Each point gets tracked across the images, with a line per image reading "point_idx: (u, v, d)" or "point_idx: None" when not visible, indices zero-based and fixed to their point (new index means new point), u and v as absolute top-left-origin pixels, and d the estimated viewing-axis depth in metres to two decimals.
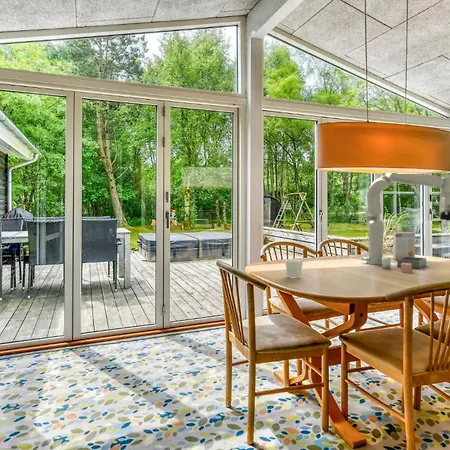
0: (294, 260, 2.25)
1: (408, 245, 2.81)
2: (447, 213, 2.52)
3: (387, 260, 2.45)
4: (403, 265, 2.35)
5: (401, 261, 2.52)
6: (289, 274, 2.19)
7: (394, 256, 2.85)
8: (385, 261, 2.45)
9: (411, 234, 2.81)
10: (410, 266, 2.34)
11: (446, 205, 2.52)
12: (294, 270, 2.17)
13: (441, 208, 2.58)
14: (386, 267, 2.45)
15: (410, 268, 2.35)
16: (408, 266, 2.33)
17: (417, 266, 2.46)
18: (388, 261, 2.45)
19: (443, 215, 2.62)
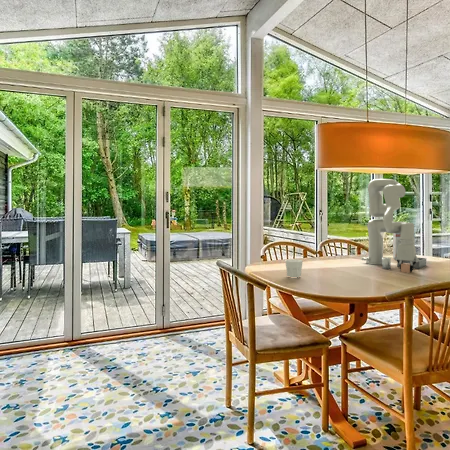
0: (294, 260, 2.25)
1: None
2: None
3: (387, 260, 2.45)
4: (403, 265, 2.35)
5: None
6: (289, 274, 2.19)
7: (394, 256, 2.85)
8: (385, 261, 2.45)
9: None
10: None
11: (414, 254, 2.32)
12: (294, 270, 2.17)
13: (404, 257, 2.34)
14: (386, 267, 2.45)
15: None
16: (408, 266, 2.33)
17: (417, 266, 2.46)
18: (388, 261, 2.45)
19: None
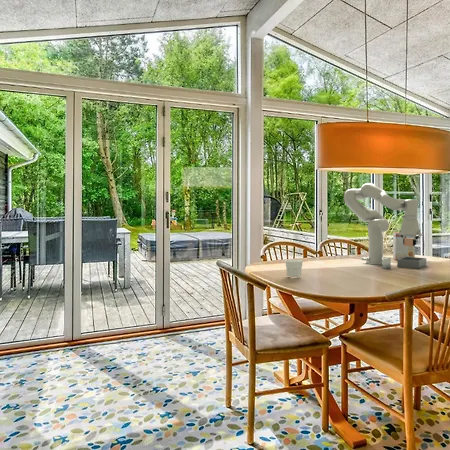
0: (294, 260, 2.25)
1: None
2: (415, 239, 2.46)
3: (387, 260, 2.45)
4: (406, 239, 2.49)
5: (401, 261, 2.52)
6: (289, 274, 2.19)
7: (394, 256, 2.85)
8: (385, 261, 2.45)
9: None
10: None
11: (417, 229, 2.45)
12: (294, 270, 2.17)
13: (408, 232, 2.48)
14: (386, 267, 2.45)
15: None
16: (411, 240, 2.47)
17: (417, 266, 2.46)
18: (388, 261, 2.45)
19: None
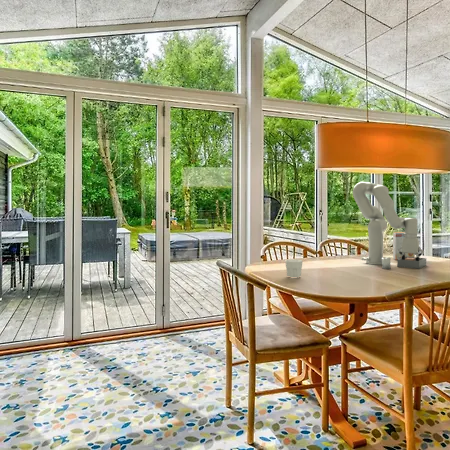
0: (294, 260, 2.25)
1: None
2: (418, 256, 2.49)
3: (386, 260, 2.45)
4: (407, 259, 2.52)
5: (401, 261, 2.52)
6: (289, 274, 2.19)
7: (394, 256, 2.85)
8: (385, 261, 2.45)
9: None
10: (414, 260, 2.51)
11: (418, 247, 2.48)
12: (294, 270, 2.17)
13: (409, 250, 2.51)
14: (386, 267, 2.45)
15: None
16: (412, 260, 2.50)
17: (417, 266, 2.46)
18: (387, 261, 2.45)
19: (404, 257, 2.56)
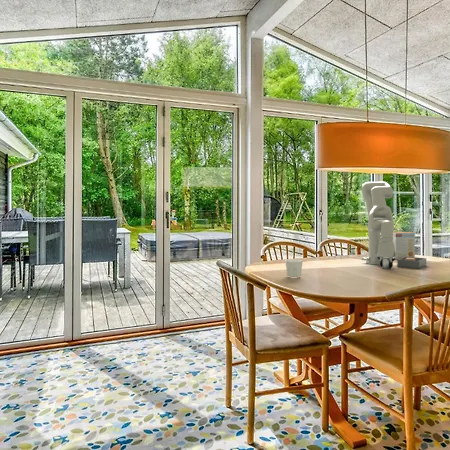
0: (294, 260, 2.25)
1: (407, 245, 2.81)
2: (392, 261, 2.44)
3: (386, 260, 2.45)
4: (407, 259, 2.52)
5: (401, 261, 2.52)
6: (289, 274, 2.19)
7: None
8: (384, 261, 2.46)
9: (411, 234, 2.81)
10: (414, 260, 2.51)
11: (393, 251, 2.42)
12: (294, 270, 2.17)
13: (384, 254, 2.45)
14: (385, 267, 2.45)
15: None
16: (412, 260, 2.50)
17: (417, 266, 2.46)
18: (387, 261, 2.45)
19: None
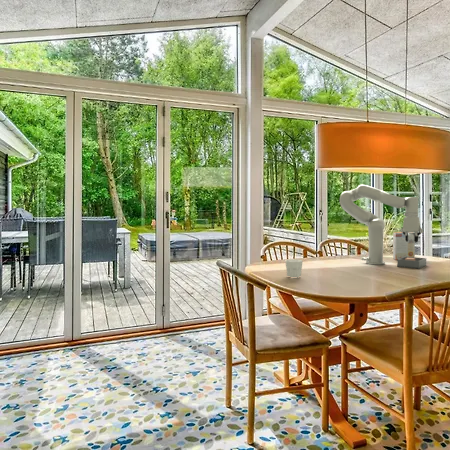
0: (294, 260, 2.25)
1: (408, 245, 2.81)
2: (417, 235, 2.53)
3: (411, 234, 2.54)
4: (407, 259, 2.52)
5: (401, 261, 2.52)
6: (289, 274, 2.19)
7: (394, 256, 2.85)
8: (409, 236, 2.55)
9: None
10: (414, 260, 2.51)
11: (419, 225, 2.51)
12: (294, 270, 2.17)
13: (410, 229, 2.54)
14: (410, 241, 2.54)
15: None
16: (412, 260, 2.50)
17: (417, 266, 2.46)
18: (412, 236, 2.54)
19: (407, 237, 2.58)
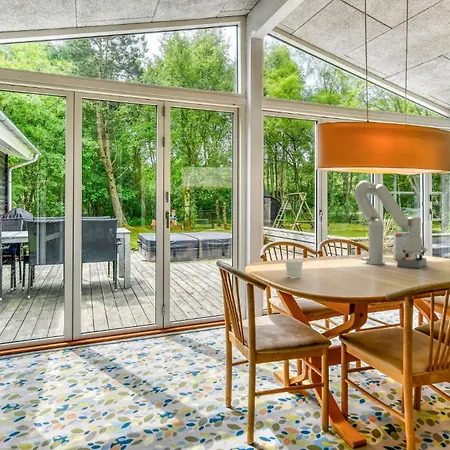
0: (294, 260, 2.25)
1: None
2: (422, 254, 2.54)
3: (413, 256, 2.57)
4: (407, 259, 2.52)
5: (401, 261, 2.52)
6: (289, 274, 2.19)
7: (394, 256, 2.85)
8: (411, 257, 2.57)
9: None
10: (414, 260, 2.51)
11: (421, 245, 2.54)
12: (294, 270, 2.17)
13: (412, 248, 2.56)
14: None
15: None
16: (412, 260, 2.50)
17: (417, 266, 2.46)
18: (414, 257, 2.56)
19: (407, 255, 2.61)
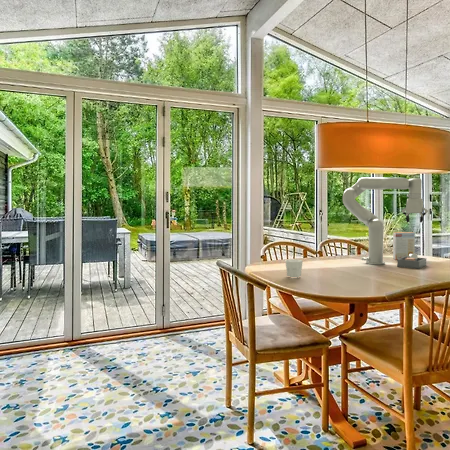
0: (294, 260, 2.25)
1: (408, 245, 2.81)
2: (422, 215, 2.53)
3: (413, 256, 2.57)
4: (407, 259, 2.52)
5: (401, 261, 2.52)
6: (289, 274, 2.19)
7: (394, 256, 2.85)
8: (411, 257, 2.57)
9: (411, 234, 2.81)
10: (414, 260, 2.51)
11: (422, 207, 2.52)
12: (294, 270, 2.17)
13: (413, 210, 2.55)
14: None
15: None
16: (412, 260, 2.50)
17: (417, 266, 2.46)
18: (414, 257, 2.56)
19: (408, 217, 2.60)
